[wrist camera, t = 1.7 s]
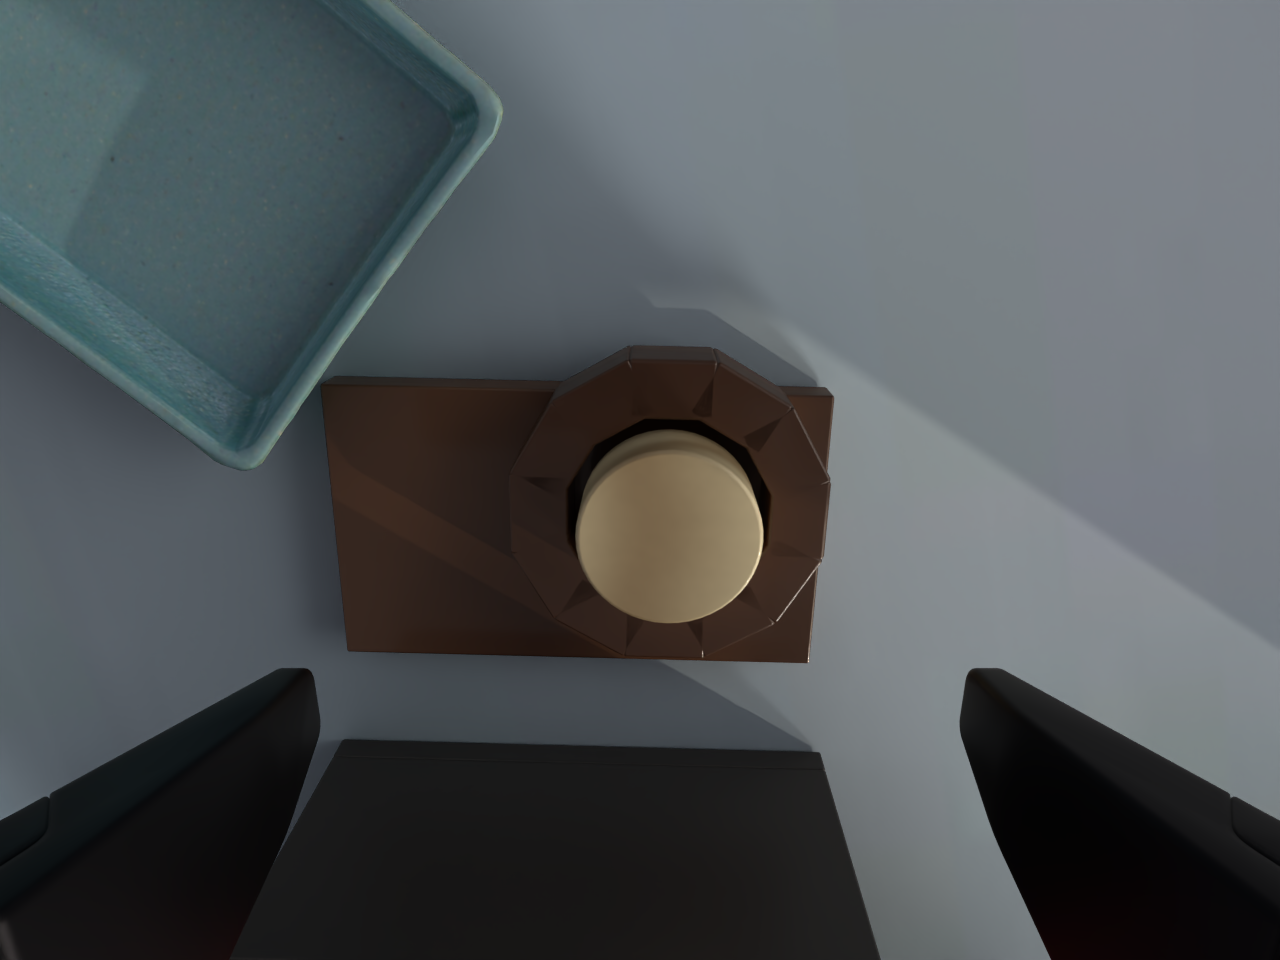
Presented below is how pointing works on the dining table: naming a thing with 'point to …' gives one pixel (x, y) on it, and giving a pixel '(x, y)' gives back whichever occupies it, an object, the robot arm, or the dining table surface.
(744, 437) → the release block
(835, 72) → the dining table surface
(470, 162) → the shallow long dish
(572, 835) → the black box
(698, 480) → the release button
